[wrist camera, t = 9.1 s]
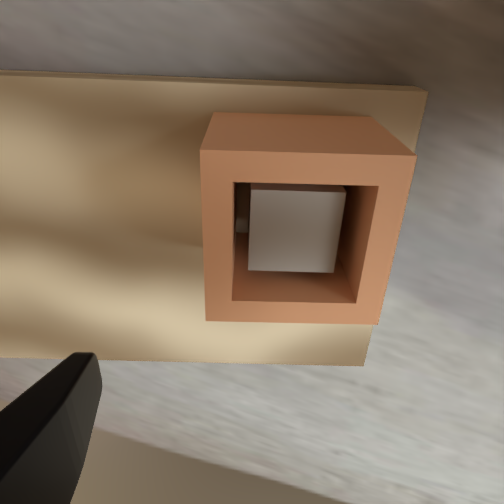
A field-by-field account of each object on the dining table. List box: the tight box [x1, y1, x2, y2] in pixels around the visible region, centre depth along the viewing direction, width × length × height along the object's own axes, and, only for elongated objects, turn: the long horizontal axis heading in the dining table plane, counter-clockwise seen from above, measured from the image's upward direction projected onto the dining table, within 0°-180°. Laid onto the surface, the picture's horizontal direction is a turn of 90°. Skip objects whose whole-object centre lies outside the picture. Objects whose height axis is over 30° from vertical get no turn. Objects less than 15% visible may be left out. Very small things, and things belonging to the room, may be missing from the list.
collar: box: [200, 112, 417, 325], centre depth 15 cm, size 6×6×5 cm
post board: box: [0, 70, 429, 366], centre depth 17 cm, size 14×20×6 cm
